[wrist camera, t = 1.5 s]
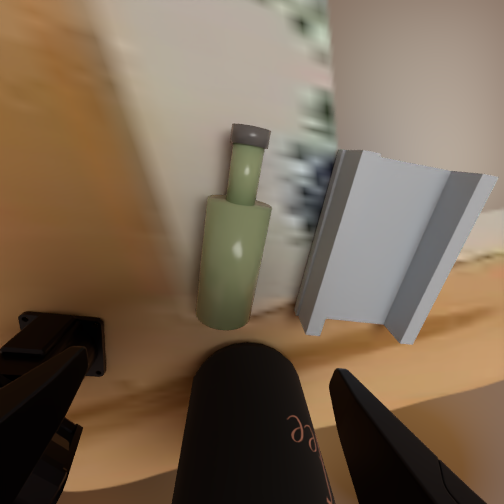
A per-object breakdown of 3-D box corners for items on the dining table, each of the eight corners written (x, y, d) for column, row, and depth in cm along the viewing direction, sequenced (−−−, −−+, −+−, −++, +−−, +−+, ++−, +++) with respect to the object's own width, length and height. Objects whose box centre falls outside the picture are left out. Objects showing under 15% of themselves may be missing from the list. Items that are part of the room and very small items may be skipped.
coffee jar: (290, 410, 28) (373, 779, 12) (195, 414, 27) (139, 819, 11) (301, 335, 24) (450, 734, 8) (190, 337, 23) (89, 791, 7)
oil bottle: (243, 296, 23) (256, 329, 19) (193, 297, 21) (197, 331, 18) (272, 135, 18) (298, 134, 14) (211, 122, 17) (221, 117, 13)
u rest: (392, 320, 24) (414, 344, 21) (294, 310, 23) (303, 334, 20) (459, 173, 19) (501, 177, 16) (338, 149, 18) (360, 149, 15)
